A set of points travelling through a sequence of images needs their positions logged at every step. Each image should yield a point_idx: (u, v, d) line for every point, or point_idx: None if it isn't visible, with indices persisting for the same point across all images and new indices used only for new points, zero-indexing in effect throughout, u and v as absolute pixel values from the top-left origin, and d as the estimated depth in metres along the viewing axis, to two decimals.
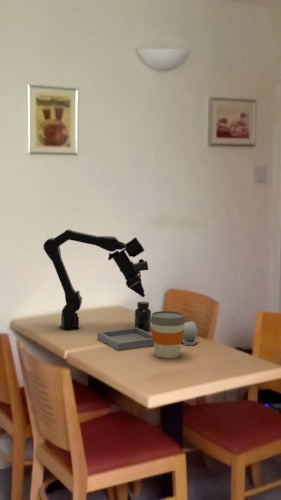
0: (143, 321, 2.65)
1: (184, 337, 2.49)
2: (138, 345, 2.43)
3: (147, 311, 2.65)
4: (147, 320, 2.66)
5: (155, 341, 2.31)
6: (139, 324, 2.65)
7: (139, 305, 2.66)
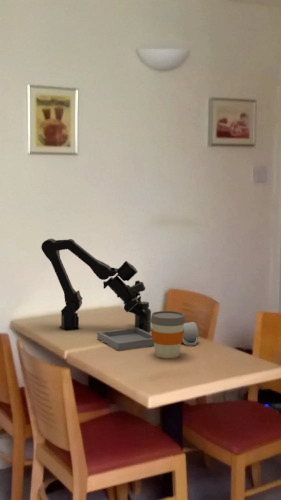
0: (143, 321, 2.65)
1: (185, 338, 2.49)
2: (138, 345, 2.43)
3: (147, 311, 2.65)
4: (147, 320, 2.66)
5: (155, 341, 2.31)
6: (139, 324, 2.65)
7: (139, 305, 2.66)
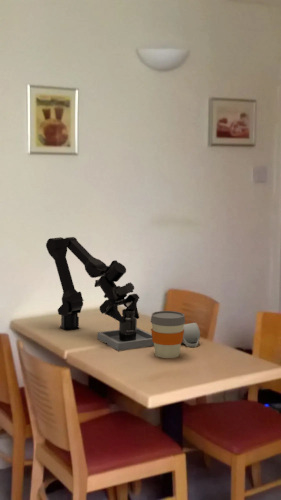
0: (123, 330, 2.47)
1: (186, 339, 2.47)
2: (138, 345, 2.43)
3: (128, 320, 2.46)
4: (128, 329, 2.47)
5: (155, 341, 2.31)
6: (120, 332, 2.48)
7: (122, 312, 2.49)
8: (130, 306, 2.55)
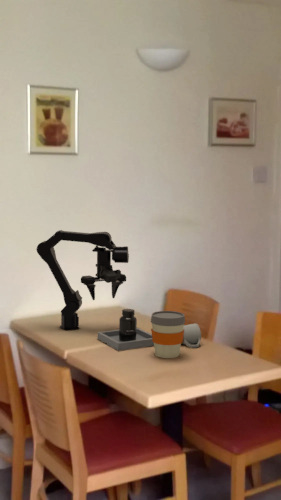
0: (123, 330, 2.47)
1: (187, 339, 2.46)
2: (138, 345, 2.43)
3: (128, 320, 2.46)
4: (128, 329, 2.47)
5: (155, 341, 2.31)
6: (120, 332, 2.48)
7: (122, 312, 2.49)
8: (114, 283, 2.70)
